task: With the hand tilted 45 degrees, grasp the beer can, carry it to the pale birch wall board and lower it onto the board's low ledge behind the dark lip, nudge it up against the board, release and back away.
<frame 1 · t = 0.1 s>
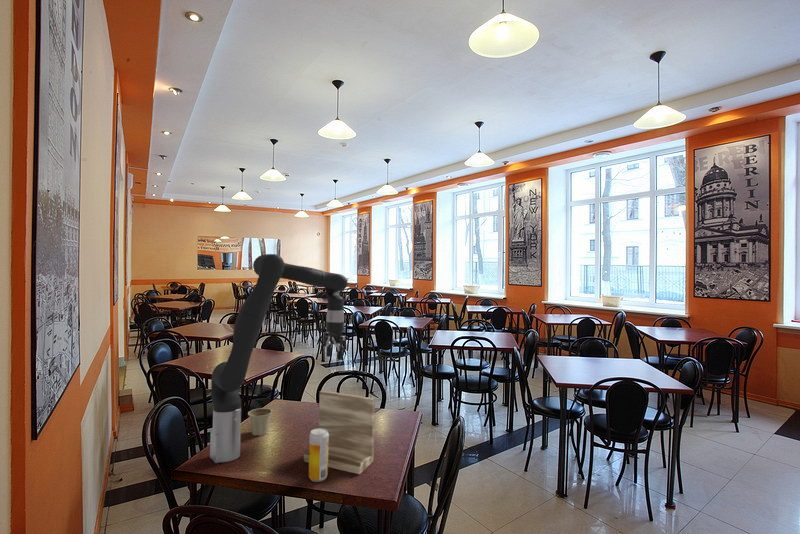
hand: (334, 358, 176), 29 cm above the table, tool pointing down, fingers open, 8 cm apart
wall board: (344, 456, 147), on the table
beer can: (318, 478, 132), on the table
flower pot: (259, 433, 167), on the table
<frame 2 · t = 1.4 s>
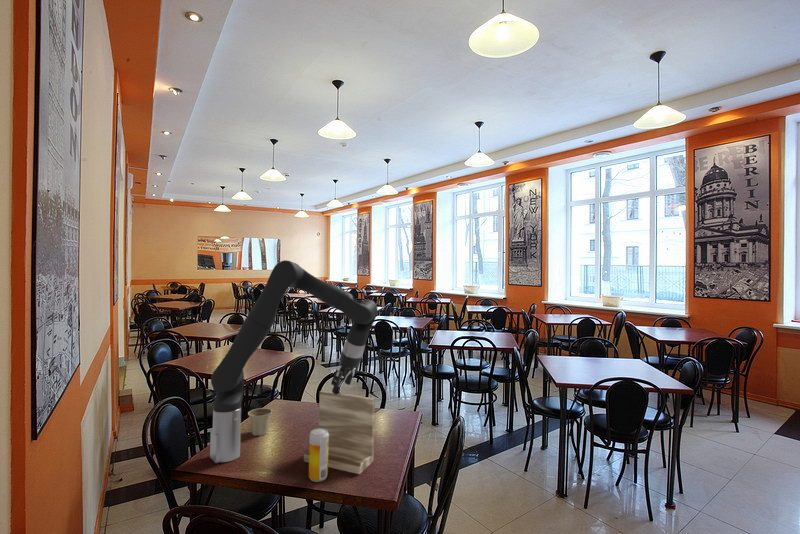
hand: (341, 388, 153), 23 cm above the table, tool tilted 25°, fingers open, 8 cm apart
nothing on the table moved.
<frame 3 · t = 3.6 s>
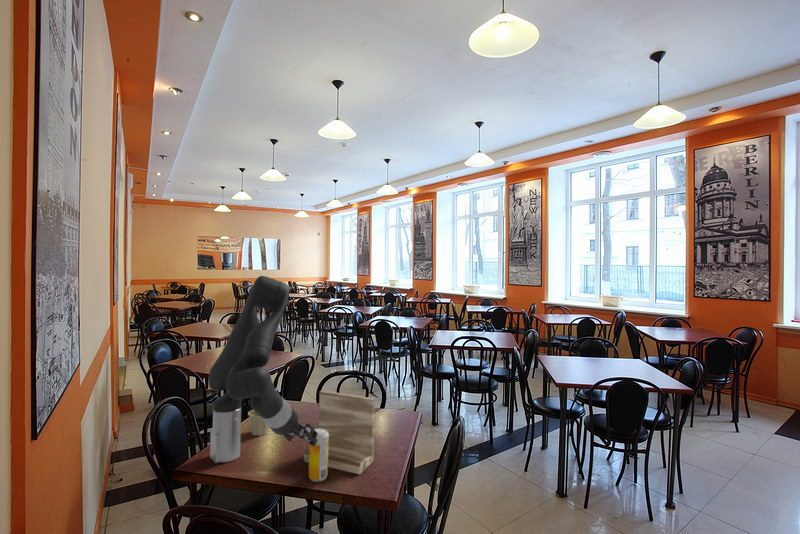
hand: (302, 440, 124), 15 cm above the table, tool tilted 45°, fingers open, 8 cm apart
nothing on the table moved.
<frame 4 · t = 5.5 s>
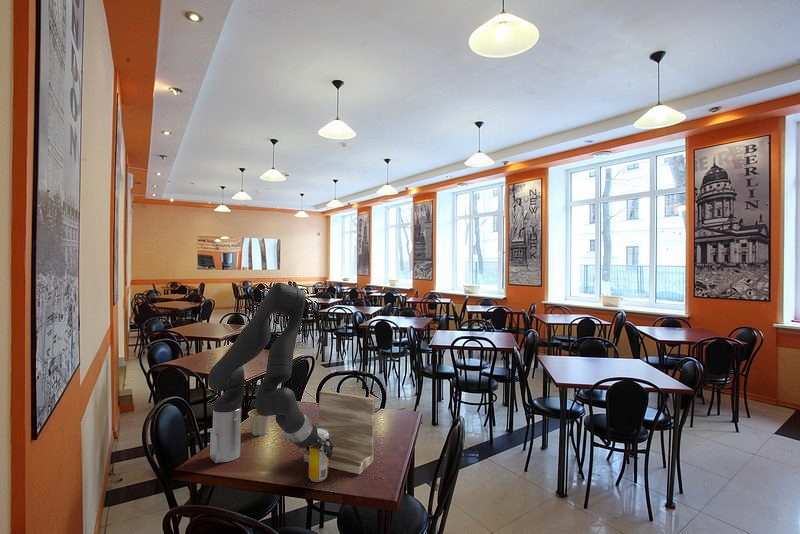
hand: (321, 452, 133), 7 cm above the table, tool tilted 45°, fingers closed on beer can, 6 cm apart
beer can: (318, 478, 132), on the table, touching gripper
everything else where it was.
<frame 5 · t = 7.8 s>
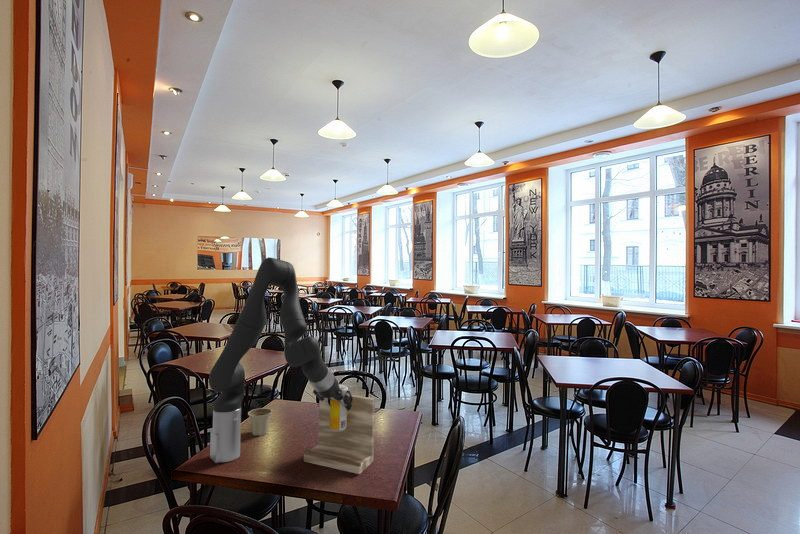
hand: (341, 406, 144), 19 cm above the table, tool tilted 45°, fingers closed on beer can, 6 cm apart
beer can: (338, 429, 143), point 11 cm above the table, touching gripper
everything else where it was.
when the fingers open (11 cm above the table, at t = 10.4 s): beer can stays where it is, resting on wall board.
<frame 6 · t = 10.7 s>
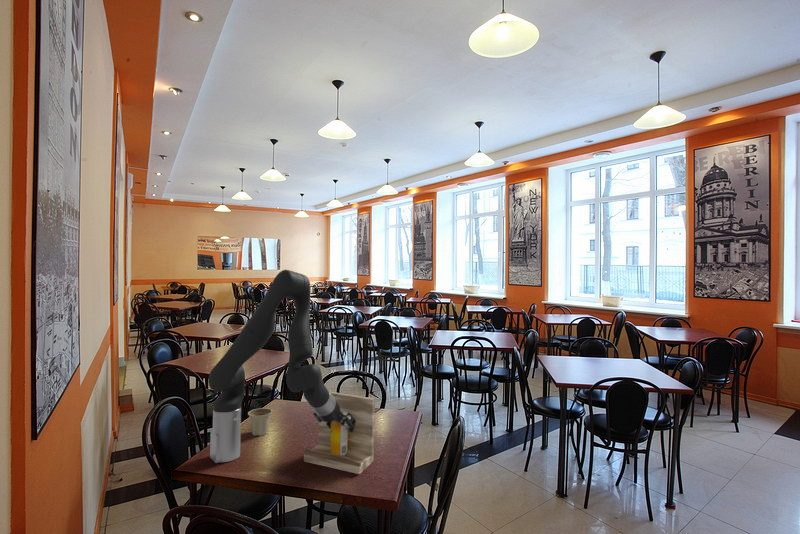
hand: (341, 427, 145), 11 cm above the table, tool tilted 45°, fingers open, 8 cm apart
beer can: (338, 454, 144), point 2 cm above the table, touching wall board
everything else where it was.
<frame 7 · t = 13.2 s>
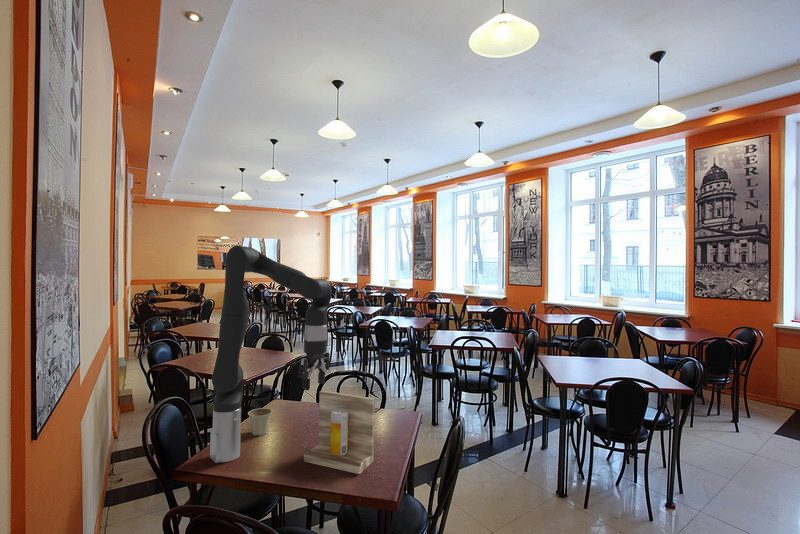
hand: (313, 386, 137), 28 cm above the table, tool pointing down, fingers open, 8 cm apart
nothing on the table moved.
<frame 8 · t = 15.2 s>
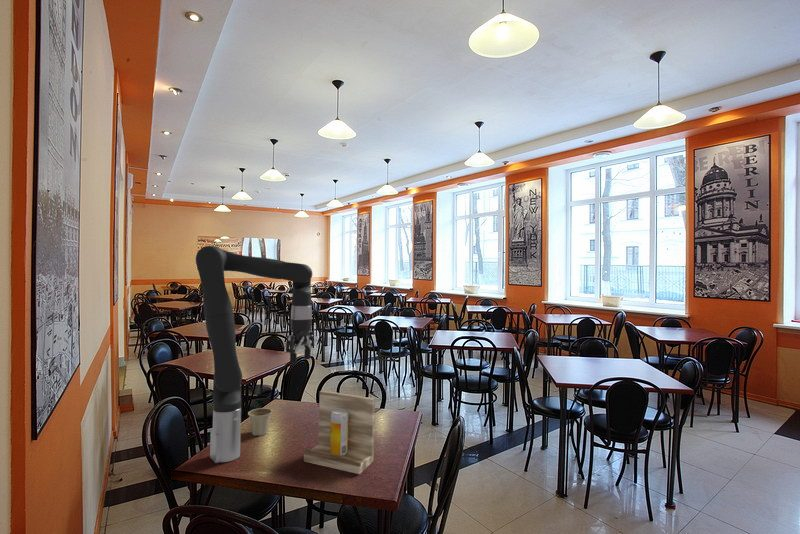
hand: (300, 361, 152), 33 cm above the table, tool pointing down, fingers open, 8 cm apart
nothing on the table moved.
at the end: beer can inside the target area on the wall board (0.4 cm from its centre), point 2.3 cm above the wall board's base; beer can tilted 0°; the gripper is holding nothing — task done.
